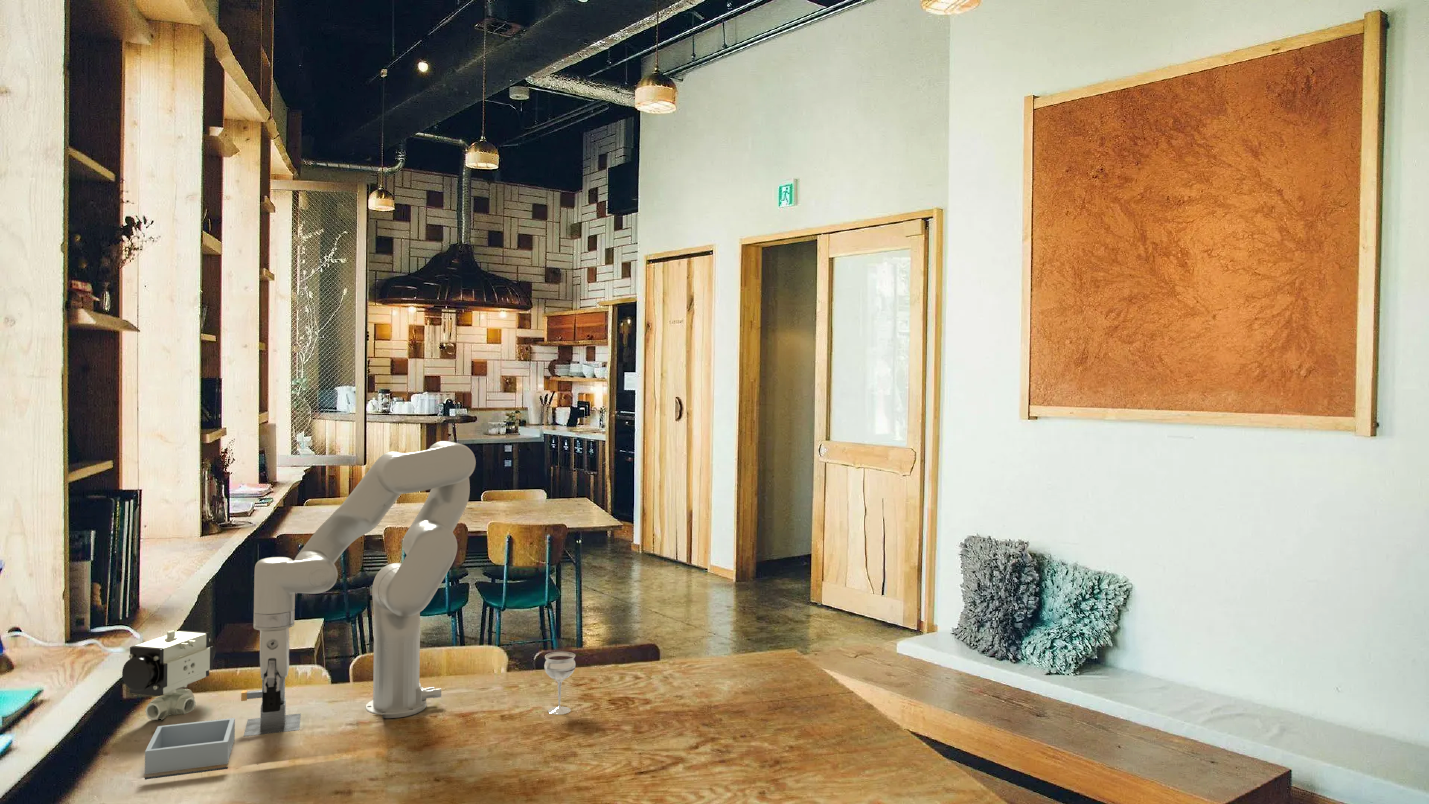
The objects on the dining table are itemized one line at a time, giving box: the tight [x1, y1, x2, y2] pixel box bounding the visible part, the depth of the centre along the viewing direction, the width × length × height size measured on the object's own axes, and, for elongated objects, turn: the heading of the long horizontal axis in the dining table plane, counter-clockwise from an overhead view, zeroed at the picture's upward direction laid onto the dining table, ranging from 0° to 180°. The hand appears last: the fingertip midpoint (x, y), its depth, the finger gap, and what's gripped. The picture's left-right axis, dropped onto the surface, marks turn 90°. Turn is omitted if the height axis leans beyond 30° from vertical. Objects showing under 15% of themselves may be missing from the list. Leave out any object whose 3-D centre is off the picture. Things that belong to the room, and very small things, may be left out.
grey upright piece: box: [240, 665, 287, 730], centre depth 185 cm, size 8×4×12 cm, turn 113°
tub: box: [144, 717, 236, 780], centre depth 170 cm, size 13×13×5 cm
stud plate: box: [243, 713, 302, 737], centre depth 186 cm, size 10×10×5 cm
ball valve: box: [121, 629, 216, 721], centre depth 193 cm, size 18×8×18 cm, turn 168°
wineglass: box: [543, 651, 577, 715], centre depth 200 cm, size 7×7×12 cm
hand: (272, 703), depth 186 cm, fingers open, 8 cm apart
